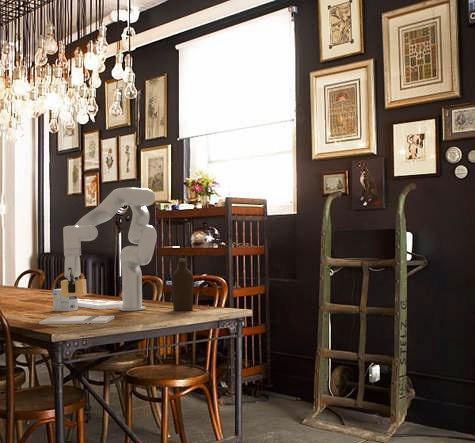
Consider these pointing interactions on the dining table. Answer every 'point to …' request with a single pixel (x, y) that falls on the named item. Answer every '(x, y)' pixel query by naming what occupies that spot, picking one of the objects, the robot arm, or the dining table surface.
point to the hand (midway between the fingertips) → (74, 291)
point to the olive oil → (182, 288)
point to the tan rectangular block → (79, 288)
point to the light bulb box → (64, 302)
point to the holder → (99, 304)
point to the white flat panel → (76, 319)
